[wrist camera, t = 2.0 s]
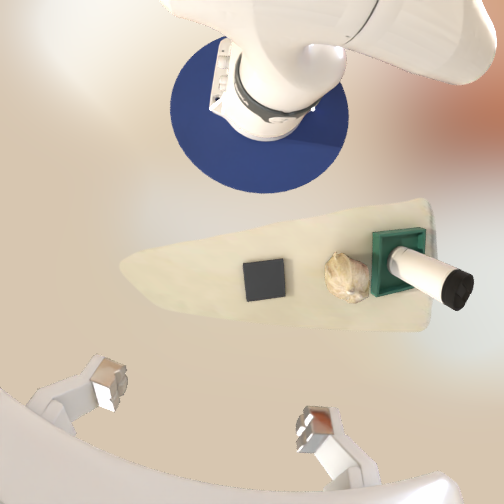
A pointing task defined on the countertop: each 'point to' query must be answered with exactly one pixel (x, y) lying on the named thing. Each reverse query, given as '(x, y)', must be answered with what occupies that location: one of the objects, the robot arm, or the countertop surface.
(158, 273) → the countertop surface
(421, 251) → the tray
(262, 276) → the mat
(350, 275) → the garlic bulb
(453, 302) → the travel mug
